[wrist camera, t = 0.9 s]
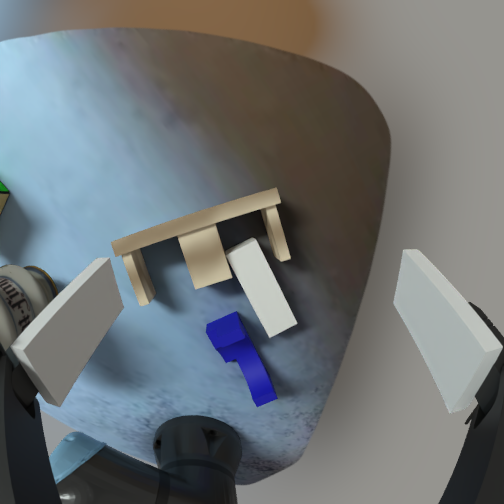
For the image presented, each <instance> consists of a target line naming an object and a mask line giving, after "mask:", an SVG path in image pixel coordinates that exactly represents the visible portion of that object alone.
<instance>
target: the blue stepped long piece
mask: <svg viewBox="0 0 504 504" xmlns="http://www.w3.org/2000/svg"><path fill="white" fill-rule="evenodd" d="M206 333H207V335H208V337H209V339H210V340H211V342H212V344H213V346H214V348H215V349H216V350H217V351H218V352H219V353H220V354H221V356H222V357H223V359H224V360H225V362H226V363H227V362H230V361H232V360H235V359H236V360H237V362H238V364H239V366H240V368H241V370H242V372H243V374H244V377H245V379H246V381H247V384H248V386H249V389H250V392H251V395H252V399H253V401H254V403H255V404H256V406H257V407H259V406H261V405H264V404H266V403H268V402H271V401H273V400H275V399H278V398H277V395H276V392H275V389H274V387H273V384H272V381H271V378H270V375H269V374H268V372H267V370H266V368H265V366H264V364H263V362H262V360H261V358H260V356H259V355H258V353H257V351H256V349H255V347H254V345H253V343H252V341H251V339H250V337H249V335H248V333H247V331H246V329H245V327H244V325H243V323H242V321H241V319H240V317H239V315H238V313H237V311H236V312H233V313H231V314H229V315H227V316H225V317H222V318H220V319H218V320H215V321H213V322H211V323H209V324H207V327H206Z"/></svg>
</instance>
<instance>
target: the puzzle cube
mask: <svg viewBox="0 0 504 504" xmlns="http://www.w3.org/2000/svg"><path fill="white" fill-rule="evenodd" d="M9 194H10V193H9V190H8V189H7V188H6V187H5V186H4V185H3V184H2V183H1V182H0V214H1V212H2V209H3V207H4V205H5V203H6V200H7V198H8V196H9Z"/></svg>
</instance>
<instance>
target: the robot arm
mask: <svg viewBox="0 0 504 504" xmlns="http://www.w3.org/2000/svg"><path fill="white" fill-rule="evenodd" d="M393 304H394V305H395V307H396V309H397V311H398V312H399V314H400V316H401V318H402V319H403V321H404V323H405V325H406V326H407V328H408V330H409V332H410V334H411V336H412V337H413V339H414V341H415V343H416V345H417V347H418V349H419V351H420V352H421V354H422V356H423V358H424V360H425V362H426V364H427V366H428V368H429V370H430V372H431V374H432V376H433V378H434V380H435V382H436V385H437V387H438V389H439V391H440V393H441V395H442V398H443V400H444V402H445V404H446V406H447V409H448V411H449V413H450V414H451V413H454V412H457V411H460V410H463V409H466V408H467V407H468V406H469V404H470V403H471V401H472V400H473V398H474V397H476V399H477V401H478V405H477V406H476V408H475V409H474V410H473V412H472V413H471V415H470V416H469V417H468V419H467V420H466V422H465V424H468V423H469V421H470V420H471V419H472V420H471V423H470V427H469V430H468V433H467V436H466V439H465V442H464V446H463V448H462V451H461V453H460V456H459V459H458V461H457V464H456V466H455V469H454V471H453V474H452V476H451V478H450V480H449V483H448V485H447V487H446V489H445V491H444V494H443V496H442V498H441V500H440V502H439V504H504V337H503V336H502V335H501V333H500V332H499V331H498V329H497V328H496V327H495V326H493V323H492V322H491V321H490V320H489V319H488V318H487V316H486V315H485V314H484V313H483V311H482V310H481V309H480V308H478V307H477V306H475V305H474V304H472V303H471V302H467V301H466V300H465V299H464V298H463V297H462V296H461V294H460V293H459V292H458V291H457V290H456V289H455V288H454V287H453V285H452V284H451V283H450V282H449V281H448V280H447V279H446V278H445V277H444V276H443V275H442V274H441V272H439V270H438V269H437V268H436V267H435V266H434V265H433V264H432V263H431V262H430V261H429V260H428V259H427V258H426V257H425V256H424V255H423V254H422V253H421V252H420V251H419V250H418V249H414V250H412V249H411V250H403V254H402V261H401V266H400V272H399V278H398V283H397V288H396V293H395V297H394V302H393ZM123 308H124V306H123V303H122V300H121V296H120V293H119V290H118V286H117V283H116V280H115V276H114V272H113V269H112V265H111V261H110V258H96V259H95V260H94V261H93V262H92V263H91V264H90V265H89V266H88V267H87V268H85V269H84V270H83V271H82V272H81V273H80V274H79V275H78V276H77V277H76V278H75V279H74V280H73V281H72V282H71V283H70V284H69V285H68V286H67V287H66V288H64V289H63V290H62V291H61V292H60V293H59V294H58V295H57V296H56V297H55V298H54V299H53V300H52V301H51V302H50V304H49V305H48V306H47V307H46V308H45V309H44V310H43V311H42V312H41V313H40V314H39V315H37V316H36V317H35V318H34V320H33V321H32V322H31V324H29V325H28V326H27V327H26V328H25V330H23V332H22V333H21V334H20V335H19V336H18V337H17V338H16V339H15V341H14V342H13V343H12V344H11V345H10V346H9V347H8V349H7V350H6V351H5V350H4V348H3V346H2V344H1V342H0V504H238V503H237V497H236V488H235V480H234V477H235V474H236V471H237V469H238V466H239V463H240V460H241V456H242V448H241V442H240V438H239V436H238V435H237V433H236V432H235V431H234V430H233V429H232V428H231V427H229V426H228V425H226V424H225V423H223V422H221V421H218V420H216V419H213V418H209V417H204V416H181V417H177V418H173V419H171V420H168V421H167V422H165V423H163V424H162V425H161V426H160V427H159V428H158V430H157V431H156V434H155V438H154V442H153V450H154V454H155V458H156V462H157V465H158V468H156V467H153V466H151V465H148V464H145V463H144V462H141V461H139V460H137V459H135V458H132V457H130V456H128V455H126V454H124V453H122V452H120V451H118V450H116V449H114V448H112V447H110V446H108V445H106V443H104V442H100V441H98V440H96V439H94V438H92V437H90V436H88V435H86V434H84V433H81V432H72V433H70V434H68V435H67V436H66V437H65V438H64V439H63V440H62V441H61V442H60V443H59V445H58V446H57V447H56V448H55V450H54V451H53V453H52V454H51V455H50V457H49V456H48V451H47V447H46V442H45V437H44V432H43V426H42V420H41V413H40V406H39V402H38V400H37V399H36V397H35V396H36V395H37V393H38V392H39V393H40V394H41V396H42V397H43V399H44V400H45V401H46V402H47V403H50V404H52V405H55V406H58V407H61V405H62V403H63V401H64V400H65V398H66V396H67V395H68V393H69V391H70V390H71V388H72V386H73V385H74V383H75V381H76V380H77V378H78V376H79V375H80V373H81V372H82V370H83V368H84V367H85V365H86V364H87V362H88V360H89V359H90V357H91V356H92V354H93V353H94V351H95V350H96V348H97V347H98V345H99V343H100V342H101V340H102V339H103V337H104V336H105V334H106V333H107V331H108V330H109V328H110V327H111V326H112V324H113V323H114V321H115V320H116V318H117V317H118V315H119V314H120V312H121V311H122V310H123Z"/></svg>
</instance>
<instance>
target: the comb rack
mask: <svg viewBox="0 0 504 504" xmlns="http://www.w3.org/2000/svg"><path fill="white" fill-rule="evenodd" d="M279 203H281V201H280V197H279V194H278V191H277V188H274V189H270V190H267V191H263V192H260V193H256V194H253V195H250V196H246V197H243V198H240V199H236V200H233V201H230V202H227V203H223V204H220V205H217V206H214V207H211V208H208V209H204V210H201V211H198V212H195V213H192V214H189V215H186V216H183V217H180V218H177V219H174V220H171V221H168V222H165V223H162V224H160V225H157V226H154V227H151V228H148V229H145V230H143V231H140V232H137V233H134V234H131V235H129V236H126V237H123V238H121V239H118V240H115V241H113V242H111V245H112V248H113V251H114V254H115V257H117V256H119V255H122V258H123V261H124V264H125V267H126V270H127V272H128V275H129V278H130V281H131V283H132V286H133V289H134V291H135V294H136V296H137V299H138V301H139V304H140V306H143V305H147V304H149V303H150V302H151V300H152V299H153V297H154V296H155V295H156V292H155V289H154V286H153V284H152V281H151V278H150V275H149V273H148V270H147V267H146V264H145V261H144V258H143V256H142V253H141V250H140V248H142V247H145V246H148V245H151V244H154V243H156V242H159V241H162V240H165V239H168V238H171V237H174V236H177V237H178V240H179V243H180V246H181V249H182V252H183V255H184V258H185V261H186V264H187V267H188V269H189V272H190V275H191V278H192V281H193V284H194V286H195V289H198V288H202V287H205V286H208V285H211V284H214V283H217V282H221V281H224V280H227V279H230V278H232V275H231V270H230V267H229V264H228V261H227V258H226V255H225V252H224V249H223V246H222V242H221V239H220V236H219V233H218V230H217V227H216V223H217V222H220V221H223V220H226V219H230V218H233V217H236V216H239V215H242V214H246V213H249V212H252V211H255V210H259V209H260V211H261V214H262V217H263V221H264V224H265V227H266V231H267V234H268V237H269V241H270V244H271V248H272V251H273V254H274V256H275V257H276V258H277V259H278V260H280V261H281V262H282V261H285V260H288V259H291V257H290V254H289V250H288V247H287V243H286V240H285V236H284V233H283V229H282V226H281V222H280V219H279V215H278V212H277V209H276V205H275V204H279Z"/></svg>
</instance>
